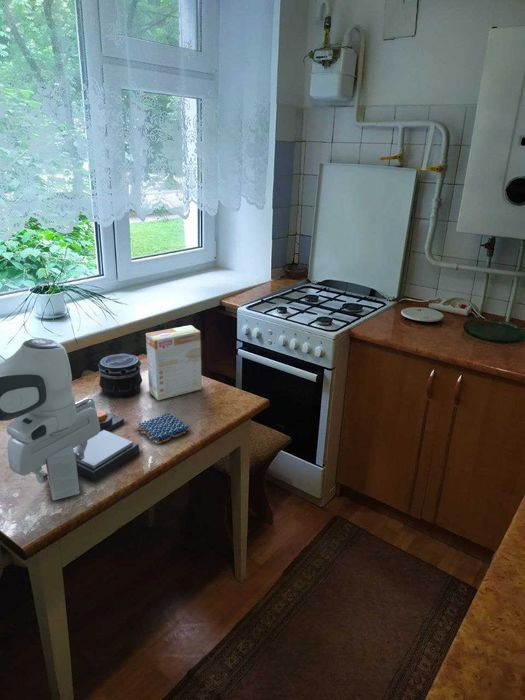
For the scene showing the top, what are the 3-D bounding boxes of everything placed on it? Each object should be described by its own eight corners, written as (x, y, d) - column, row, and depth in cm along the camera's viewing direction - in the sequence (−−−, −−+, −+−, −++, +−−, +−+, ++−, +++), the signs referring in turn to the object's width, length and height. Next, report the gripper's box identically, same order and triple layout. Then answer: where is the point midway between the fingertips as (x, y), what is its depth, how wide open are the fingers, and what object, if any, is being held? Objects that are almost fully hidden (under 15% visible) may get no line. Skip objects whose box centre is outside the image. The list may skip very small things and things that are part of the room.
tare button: (99, 423, 129) (98, 417, 129) (90, 419, 131) (90, 414, 130) (108, 418, 132) (108, 412, 131) (100, 414, 133) (99, 409, 133)
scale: (94, 481, 111) (93, 469, 109) (59, 464, 116) (57, 452, 115) (139, 452, 122) (138, 441, 121) (105, 438, 127) (104, 426, 126)
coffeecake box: (192, 381, 160) (190, 324, 153) (202, 389, 155) (201, 331, 148) (148, 391, 152) (144, 332, 145) (157, 401, 147) (154, 339, 140)
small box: (48, 480, 111) (42, 439, 107) (74, 474, 113) (69, 434, 109) (52, 501, 104) (45, 459, 100) (80, 494, 107) (75, 452, 103)
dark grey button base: (95, 439, 127) (93, 429, 125) (76, 431, 130) (75, 421, 129) (124, 423, 135) (123, 413, 133) (106, 416, 138) (105, 406, 137)
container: (115, 378, 161) (113, 350, 157) (150, 384, 157) (148, 355, 153) (91, 395, 149) (87, 364, 146) (128, 402, 146) (126, 371, 142)
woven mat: (169, 417, 138) (169, 410, 138) (191, 432, 131) (191, 425, 130) (135, 429, 132) (135, 422, 131) (157, 446, 125) (156, 439, 124)
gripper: (83, 391, 112) (90, 443, 117) (-2, 430, 95) (9, 489, 101) (103, 398, 109) (108, 451, 114) (18, 440, 92) (29, 500, 98)
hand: (61, 469), depth 107 cm, fingers open, 8 cm apart
